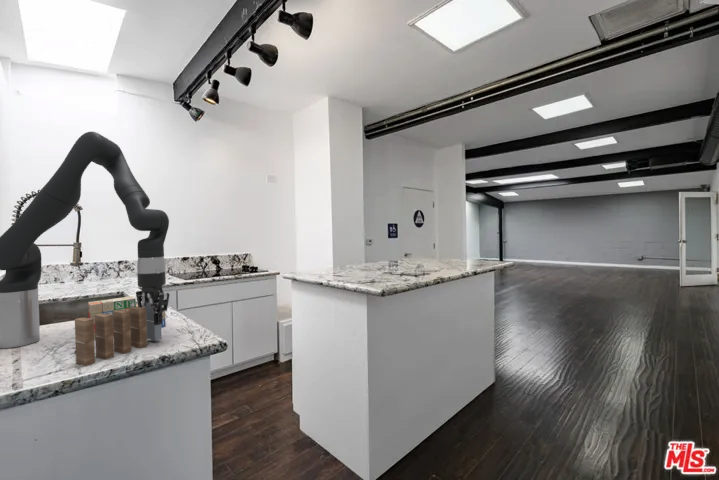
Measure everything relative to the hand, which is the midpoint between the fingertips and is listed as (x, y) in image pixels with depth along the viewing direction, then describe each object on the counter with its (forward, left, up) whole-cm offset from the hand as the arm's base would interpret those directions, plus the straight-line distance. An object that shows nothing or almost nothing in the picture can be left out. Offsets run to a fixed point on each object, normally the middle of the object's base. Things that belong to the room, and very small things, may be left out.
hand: (153, 323), depth 100 cm
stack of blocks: (-15, +12, -6) cm, 20 cm away
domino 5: (0, 0, -5) cm, 5 cm away
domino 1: (-9, -16, -6) cm, 19 cm away
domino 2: (-7, -12, -6) cm, 15 cm away
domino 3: (-5, -8, -6) cm, 11 cm away
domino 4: (-2, -4, -6) cm, 7 cm away
